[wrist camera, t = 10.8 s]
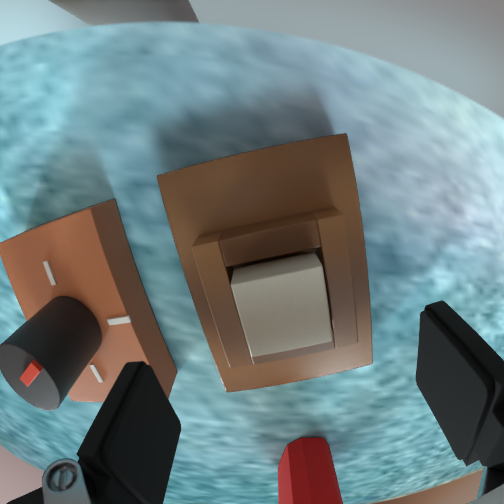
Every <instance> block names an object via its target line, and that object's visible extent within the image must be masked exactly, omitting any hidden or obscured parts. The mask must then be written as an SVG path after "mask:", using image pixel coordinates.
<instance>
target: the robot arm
mask: <svg viewBox="0 0 504 504" xmlns="http://www.w3.org/2000/svg"><path fill="white" fill-rule="evenodd" d="M416 383H417V386H418V388H419V389H420V391H421V393H422V395H423V396H424V398H425V400H426V402H427V403H428V405H429V407H430V409H431V411H432V412H433V414H434V416H435V418H436V420H437V421H438V423H439V425H440V427H441V429H442V431H443V433H444V434H445V436H446V438H447V440H448V442H449V444H450V446H451V448H452V450H453V452H454V454H455V456H456V457H457V459H458V460H462V459H463V461H464V463H465V465H466V466H468V465H470V464H472V463H474V462H476V461H478V460H479V461H480V462H481V464H482V466H484V468H483V473H482V478H481V482H480V487H479V491H478V495H477V499H475V500H473V501H471V502H469V503H467V504H504V360H503V359H502V358H501V357H500V356H499V355H498V354H497V353H496V352H495V351H494V350H493V349H492V348H491V347H490V346H489V345H488V344H487V343H486V342H485V341H484V340H483V339H482V337H481V336H480V335H479V334H478V333H477V332H476V331H475V330H474V329H473V328H472V327H470V326H469V325H468V324H467V323H466V322H465V321H464V320H463V319H462V318H461V317H460V316H459V315H458V314H457V313H456V312H455V311H454V310H453V309H452V308H451V307H450V306H449V305H448V304H447V303H445V302H444V301H438V302H435V303H432V304H429V305H426V306H425V309H424V311H422V312H421V314H420V330H419V346H418V358H417V369H416ZM180 432H181V423H180V420H179V418H178V417H177V415H176V413H175V411H174V409H173V408H172V406H171V404H170V402H169V400H168V398H167V396H166V394H165V392H164V390H163V388H162V387H161V385H160V383H159V381H158V379H157V377H156V375H155V372H154V370H153V368H152V367H151V366H150V365H147V364H146V363H145V362H144V361H135V362H127V363H126V364H125V365H124V367H123V369H122V370H121V372H120V374H119V376H118V377H117V379H116V381H115V383H114V385H113V386H112V388H111V390H110V392H109V394H108V395H107V397H106V399H105V401H104V403H103V405H102V406H101V408H100V410H99V412H98V414H97V416H96V418H95V419H94V421H93V423H92V425H91V427H90V429H89V431H88V433H87V435H86V437H85V439H84V440H83V442H82V444H81V446H80V448H79V450H78V452H77V455H78V456H79V460H78V462H76V461H75V460H73V459H69V458H63V459H59V460H57V461H55V462H53V463H52V464H50V465H49V466H48V467H47V469H46V470H45V471H44V474H43V476H42V487H41V488H39V489H36V490H34V491H32V492H30V493H28V494H26V495H23V496H21V497H19V498H16V499H14V500H12V501H10V502H8V503H7V504H163V501H164V497H165V493H166V489H167V484H168V480H169V476H170V472H171V468H172V464H173V460H174V456H175V452H176V448H177V444H178V440H179V436H180Z"/></svg>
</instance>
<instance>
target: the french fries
mask: <svg viewBox="0 0 504 504" xmlns="http://www.w3.org/2000/svg"><path fill="white" fill-rule="evenodd" d="M278 493H279V504H343V502H342V498H341V493H340V489H339V485H338V481H337V476H336V472H335V468H334V464H333V460H332V456H331V452H330V448H329V445H328V444H327V442H326V441H325V440H324V439H323V438H302V437H301V438H299V439H297V440H295V441H294V442H292V443H290V444H288V445H287V447H286V449H285V451H284V453H283V455H282V458H281V461H280V463H279V467H278Z"/></svg>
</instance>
